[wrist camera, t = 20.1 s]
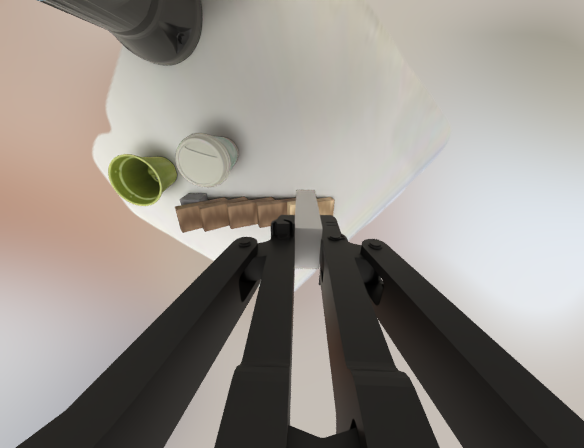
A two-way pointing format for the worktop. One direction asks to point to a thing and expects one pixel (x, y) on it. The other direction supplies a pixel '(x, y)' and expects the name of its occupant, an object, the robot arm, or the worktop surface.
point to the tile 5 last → (192, 214)
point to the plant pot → (141, 178)
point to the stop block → (193, 198)
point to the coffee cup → (206, 159)
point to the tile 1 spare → (323, 205)
